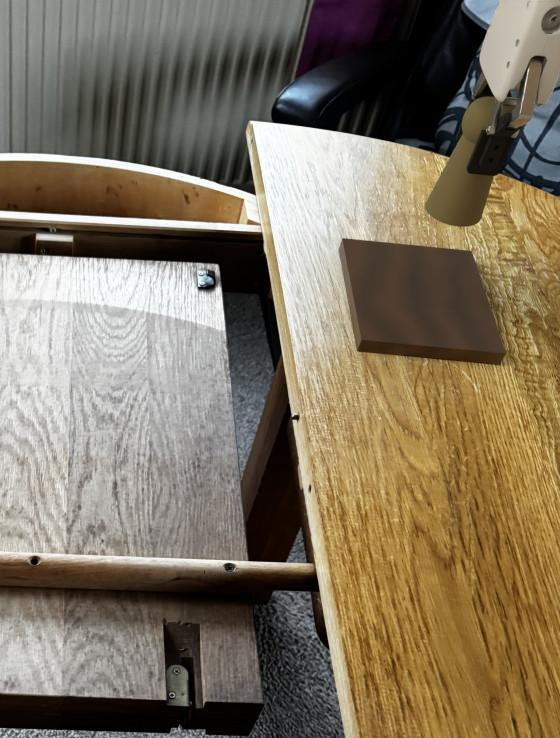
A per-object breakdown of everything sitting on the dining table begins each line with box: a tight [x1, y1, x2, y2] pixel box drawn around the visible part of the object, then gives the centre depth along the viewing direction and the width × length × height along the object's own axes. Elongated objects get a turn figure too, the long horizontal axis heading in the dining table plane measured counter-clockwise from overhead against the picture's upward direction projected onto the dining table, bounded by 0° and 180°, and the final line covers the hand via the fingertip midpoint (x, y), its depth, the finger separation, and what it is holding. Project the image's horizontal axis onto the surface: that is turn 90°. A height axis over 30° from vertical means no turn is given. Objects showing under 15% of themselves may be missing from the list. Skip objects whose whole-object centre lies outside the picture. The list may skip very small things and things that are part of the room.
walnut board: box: [338, 237, 507, 365], centre depth 108 cm, size 16×20×2 cm
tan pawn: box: [424, 97, 515, 228], centre depth 95 cm, size 6×6×11 cm
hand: (476, 156), depth 94 cm, fingers closed on tan pawn, 5 cm apart
